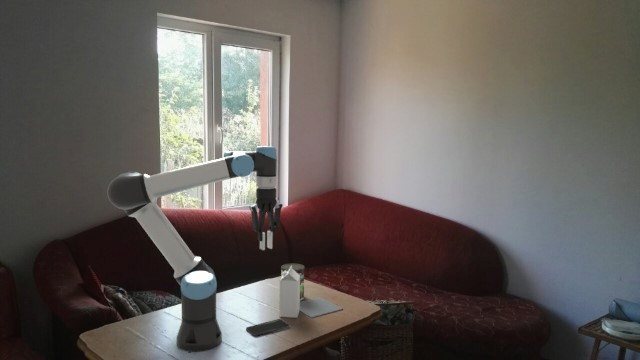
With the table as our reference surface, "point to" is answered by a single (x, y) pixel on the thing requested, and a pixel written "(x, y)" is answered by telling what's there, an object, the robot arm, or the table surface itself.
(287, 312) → the milk carton
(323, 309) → the mat
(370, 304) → the table surface
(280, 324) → the phone
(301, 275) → the coffee can
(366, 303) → the table surface
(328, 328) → the table surface
